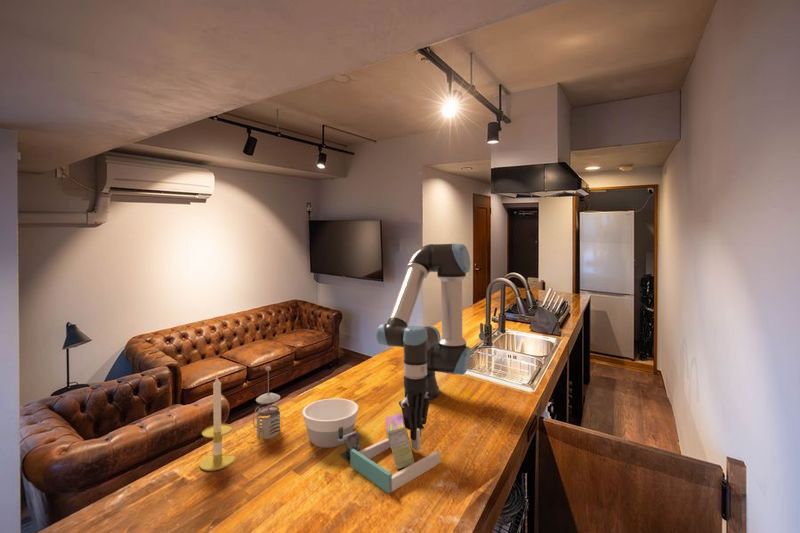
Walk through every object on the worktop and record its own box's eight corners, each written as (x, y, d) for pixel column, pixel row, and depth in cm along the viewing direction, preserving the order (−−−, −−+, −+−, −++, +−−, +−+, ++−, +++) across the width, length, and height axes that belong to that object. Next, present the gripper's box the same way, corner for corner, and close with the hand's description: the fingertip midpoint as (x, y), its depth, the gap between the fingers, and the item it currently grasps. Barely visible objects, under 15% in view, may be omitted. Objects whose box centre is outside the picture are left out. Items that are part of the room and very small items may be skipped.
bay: (350, 466, 108) (350, 450, 108) (401, 442, 123) (401, 427, 123) (388, 493, 96) (388, 475, 96) (440, 463, 110) (440, 447, 110)
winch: (333, 459, 112) (333, 425, 112) (355, 449, 118) (355, 417, 118) (344, 467, 108) (344, 432, 108) (366, 457, 114) (366, 423, 113)
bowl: (309, 460, 112) (309, 426, 112) (297, 433, 129) (297, 403, 129) (367, 445, 121) (366, 413, 121) (348, 422, 138) (347, 394, 138)
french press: (288, 432, 130) (288, 364, 129) (267, 448, 119) (266, 373, 118) (266, 428, 133) (266, 361, 132) (243, 443, 122) (242, 370, 121)
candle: (231, 468, 107) (230, 379, 107) (194, 472, 105) (193, 381, 105) (238, 451, 117) (238, 369, 117) (205, 454, 115) (204, 371, 114)
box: (394, 451, 117) (385, 417, 116) (411, 446, 117) (401, 412, 117) (396, 470, 107) (386, 432, 106) (415, 464, 107) (404, 427, 107)
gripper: (409, 383, 107) (410, 461, 108) (437, 373, 116) (438, 445, 117) (392, 377, 113) (393, 451, 113) (420, 368, 122) (421, 437, 122)
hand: (416, 448), depth 115 cm, fingers closed
